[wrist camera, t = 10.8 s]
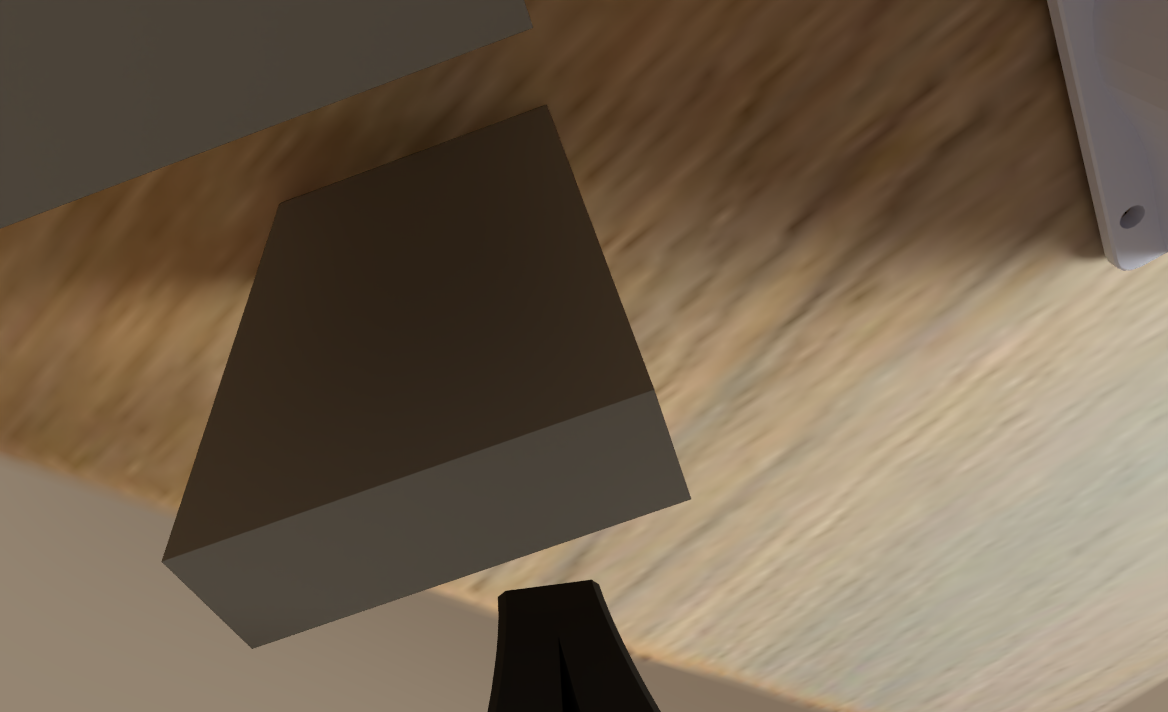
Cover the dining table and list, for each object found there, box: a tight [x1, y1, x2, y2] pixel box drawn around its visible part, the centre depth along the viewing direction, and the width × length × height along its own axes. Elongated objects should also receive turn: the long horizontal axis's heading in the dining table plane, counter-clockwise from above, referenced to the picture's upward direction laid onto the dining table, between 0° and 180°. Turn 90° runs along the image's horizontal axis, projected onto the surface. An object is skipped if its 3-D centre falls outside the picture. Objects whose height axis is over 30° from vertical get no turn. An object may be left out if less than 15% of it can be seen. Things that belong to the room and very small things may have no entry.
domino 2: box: [162, 105, 691, 649], centre depth 11 cm, size 2×5×8 cm, turn 107°
